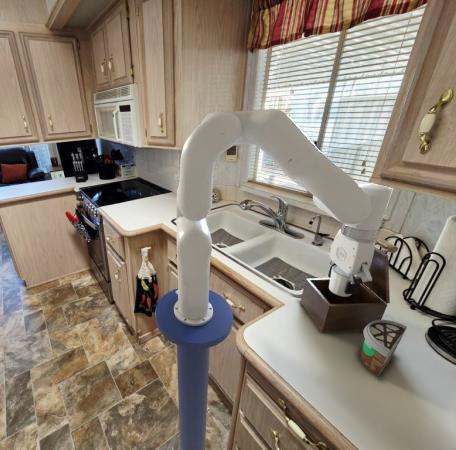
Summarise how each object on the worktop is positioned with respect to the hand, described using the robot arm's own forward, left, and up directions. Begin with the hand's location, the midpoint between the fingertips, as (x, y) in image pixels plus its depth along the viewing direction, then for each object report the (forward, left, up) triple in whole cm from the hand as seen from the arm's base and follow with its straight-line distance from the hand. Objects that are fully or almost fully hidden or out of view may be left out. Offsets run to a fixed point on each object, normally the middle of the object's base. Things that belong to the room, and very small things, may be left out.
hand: (341, 284), depth 73 cm
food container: (+14, -6, -12) cm, 19 cm away
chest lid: (+3, +5, +6) cm, 8 cm away
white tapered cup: (0, 0, -2) cm, 2 cm away
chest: (+1, +1, -12) cm, 12 cm away
